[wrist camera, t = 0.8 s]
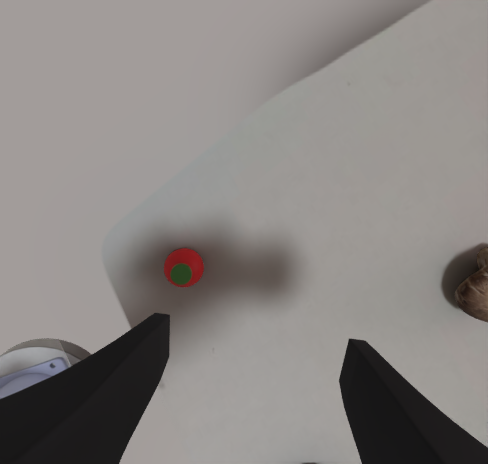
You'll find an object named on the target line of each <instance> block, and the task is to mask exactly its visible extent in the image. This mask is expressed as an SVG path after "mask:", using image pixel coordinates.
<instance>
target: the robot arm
mask: <svg viewBox="0 0 488 464" xmlns="http://www.w3.org/2000/svg"><path fill="white" fill-rule="evenodd" d="M169 336H170V315H167V314H160V313H154V314H153V315H151V316H150V317H148V318H147V319H146V320H144V321H143V322H141V323H140V324H138V325H137V326H136V327H134V328H133V329H131V330H130V331H128V332H127V333H125V334H124V335H122V336H121V337H119V338H118V339H117V340H115V341H113V342H112V343H110V344H109V345H107V346H106V347H104V348H102V349H100V350H99V351H97V352H96V353H94V354H92V355H91V356H89V357H87V358H86V359H84V360H82V361H80V362H78V363H77V364H75V365H73V366H71V367H68V365H67V363H66V361H65V359H64V358H62V357H57V358H54V359H51V360H48V361H45V362H42V363H39V364H37V365H34V366H31V367H28V368H25V369H22V370H19V371H16V372H13V373H11V374H8V375H5V376H2V377H0V464H119V462H120V460H121V457H122V455H123V453H124V451H125V449H126V447H127V444H128V442H129V440H130V438H131V436H132V434H133V432H134V431H135V429H136V427H137V425H138V423H139V421H140V419H141V417H142V415H143V413H144V411H145V409H146V407H147V405H148V404H149V402H150V400H151V398H152V396H153V394H154V392H155V390H156V388H157V386H158V384H159V382H160V380H161V377H162V374H163V372H164V369H165V366H166V364H167V361H168V358H169ZM52 363H54V364H55V365H56V366H55V365H53V364H52ZM339 383H340V388H341V394H342V399H343V403H344V408H345V411H346V415H347V418H348V421H349V424H350V427H351V431H352V434H353V437H354V440H355V443H356V446H357V449H358V452H359V455H360V459H361V462H362V464H488V448H487V447H486V446H485V445H483V444H482V443H481V442H479V441H478V440H477V439H475V438H474V437H473V436H471V435H470V434H469V433H468V432H466V431H465V430H464V429H462V428H461V427H460V426H459V425H457V424H456V423H455V422H453V421H452V420H451V419H450V418H449V417H447V416H446V415H445V414H444V413H443V412H441V411H440V410H439V409H438V408H437V407H436V406H434V405H433V404H432V403H431V402H430V401H429V400H428V399H426V398H425V397H424V396H423V395H422V394H421V393H420V392H419V391H417V390H416V389H415V388H414V387H413V386H412V385H411V384H410V383H409V382H408V381H407V380H406V379H404V378H403V377H402V376H401V375H400V374H399V373H398V372H397V371H396V370H395V369H394V368H393V367H392V366H391V365H390V364H389V363H388V362H387V361H386V360H385V359H384V358H383V357H382V356H381V355H380V354H379V353H378V352H377V351H376V350H375V349H374V348H373V347H371V346H370V345H369V344H368V343H367V342H366V341H364V340H356V339H349V341H348V346H347V350H346V354H345V358H344V362H343V366H342V370H341V374H340V379H339Z"/></svg>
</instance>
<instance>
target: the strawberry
mask: <svg viewBox="0 0 488 464" xmlns="http://www.w3.org/2000/svg"><path fill="white" fill-rule="evenodd" d="M203 270H204V264H203V261H202V258H201V257H200V255H199V254H198V253H197V252H195V251H194V250H191V249H187V248H182V249H178V250H175V251H173V252H172V253H171V254H170V255H169V256H168V257H167V259H166V261H165V264H164V273H165V276H166V278H167V279H168V281H169V282H170V283H172V284H173V285H175V286H177V287H189V286H192V285H194V284H195V283H197V282H198V281H199V279H200V278H201V276H202V274H203Z"/></svg>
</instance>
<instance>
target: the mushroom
mask: <svg viewBox="0 0 488 464" xmlns="http://www.w3.org/2000/svg"><path fill="white" fill-rule="evenodd" d="M477 264H478V267H479V271H477V272H475V273H474V274H472V275H470V276H469V277H468V278H467V279H466V280H464V281H463V282H462V283H461V284H460V285H459V286H458V288H457V290H456V292H455V299H456V301H457V303H458V305H459V307H460V308H461V309H462V310H463V311H464V312H465V313H467V314H468V315H470V316H472V317H474V318H476V319H479V320H482V321H485V322H488V247H486V248H484V249H482V250H480V251H479V253H478V254H477Z"/></svg>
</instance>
